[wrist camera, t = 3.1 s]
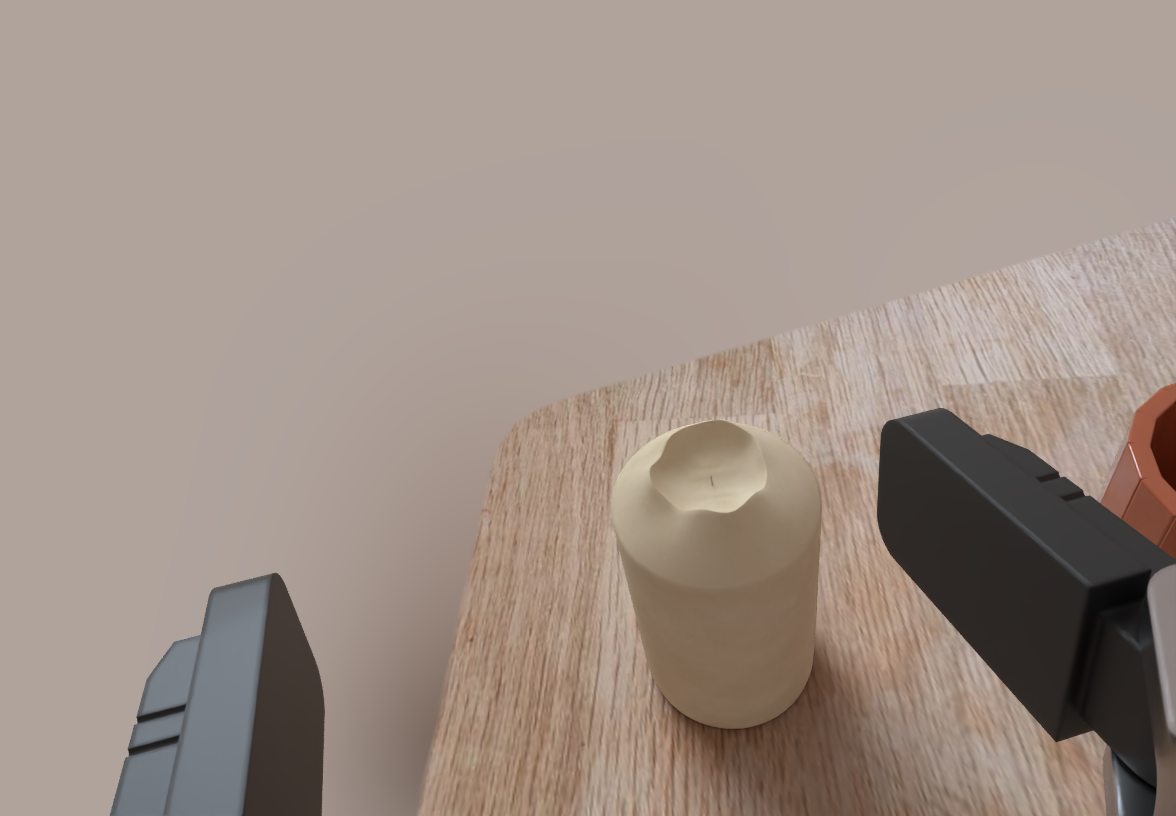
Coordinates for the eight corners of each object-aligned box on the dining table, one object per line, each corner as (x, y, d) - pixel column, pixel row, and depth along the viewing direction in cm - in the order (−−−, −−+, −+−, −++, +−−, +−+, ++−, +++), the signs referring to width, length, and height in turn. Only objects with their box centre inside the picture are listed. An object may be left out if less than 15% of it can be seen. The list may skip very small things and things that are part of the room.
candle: (832, 719, 27) (850, 537, 20) (657, 742, 27) (611, 572, 20) (792, 569, 31) (794, 370, 23) (639, 591, 31) (595, 402, 24)
